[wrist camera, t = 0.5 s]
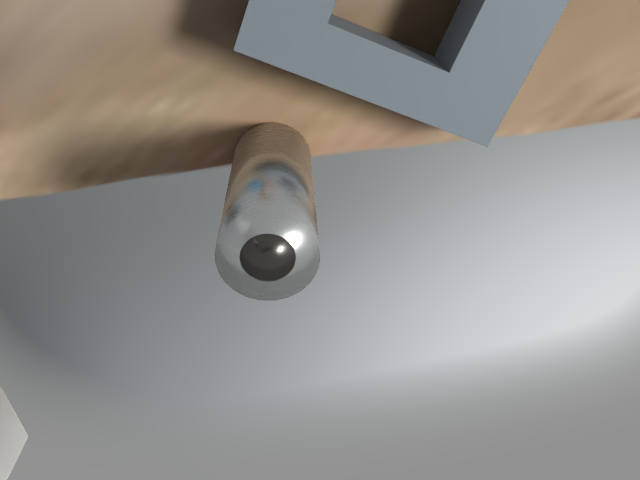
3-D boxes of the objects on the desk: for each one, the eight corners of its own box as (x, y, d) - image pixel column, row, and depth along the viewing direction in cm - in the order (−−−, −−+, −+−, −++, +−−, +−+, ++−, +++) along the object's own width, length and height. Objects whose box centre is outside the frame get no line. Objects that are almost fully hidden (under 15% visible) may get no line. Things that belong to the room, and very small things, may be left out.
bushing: (224, 179, 35) (202, 284, 26) (248, 111, 33) (232, 197, 24) (295, 202, 36) (298, 311, 27) (322, 137, 34) (336, 230, 25)
